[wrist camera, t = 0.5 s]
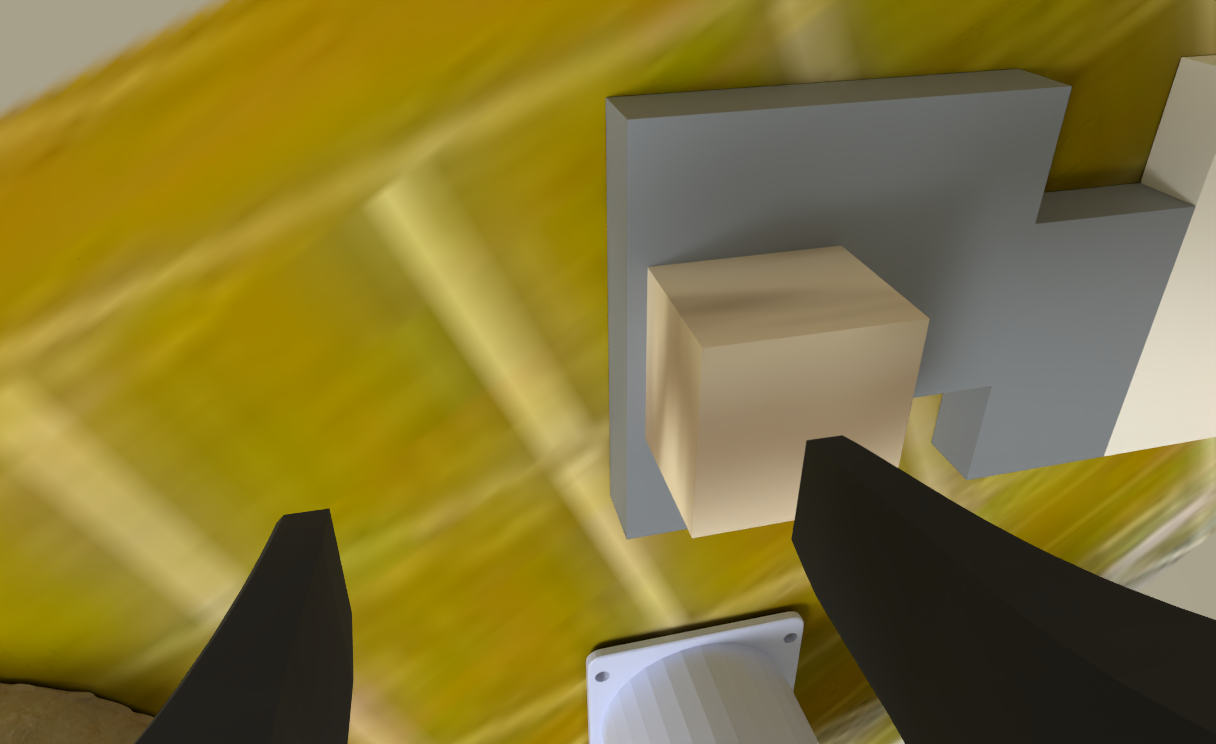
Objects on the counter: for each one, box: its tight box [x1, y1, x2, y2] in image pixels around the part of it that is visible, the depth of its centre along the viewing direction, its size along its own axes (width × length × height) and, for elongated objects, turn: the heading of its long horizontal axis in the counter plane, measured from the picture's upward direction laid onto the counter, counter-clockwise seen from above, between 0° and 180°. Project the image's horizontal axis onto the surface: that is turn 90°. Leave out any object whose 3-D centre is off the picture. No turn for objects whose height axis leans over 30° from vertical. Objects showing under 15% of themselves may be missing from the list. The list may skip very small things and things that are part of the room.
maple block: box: [645, 246, 930, 538], centre depth 20 cm, size 5×5×4 cm
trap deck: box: [606, 55, 1216, 539], centre depth 23 cm, size 12×23×4 cm, turn 90°
